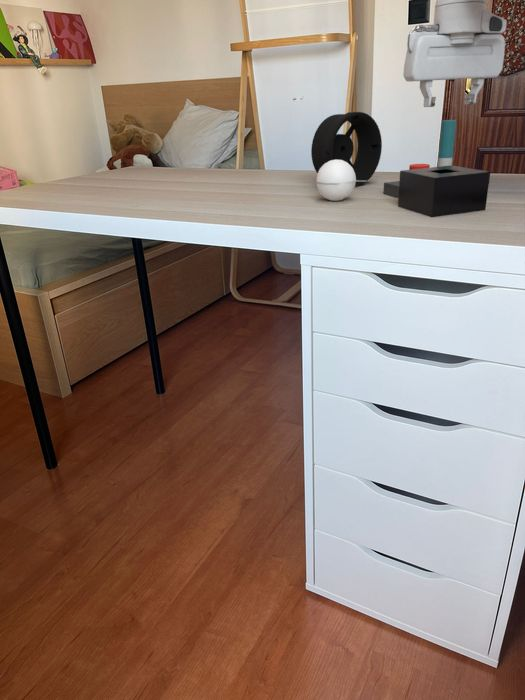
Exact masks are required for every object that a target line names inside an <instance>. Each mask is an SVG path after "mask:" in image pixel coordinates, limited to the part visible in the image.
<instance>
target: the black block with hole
mask: <svg viewBox="0 0 525 700" xmlns="http://www.w3.org/2000/svg"><path fill="white" fill-rule="evenodd" d="M490 178H491V171H487V170H483V169H477V168H476V169H475V168H469V167H464V166H457V165H453V164H452V165H450V166H441V167H438V166H433V167H429V168H422V169H412V170H409V169H404V170H400V171H399V181H400V182H399V198H397V199H398V200H397V207H398V208H401V209H404V210H407V211H411V212H413V213H416V214H419V215H422V216H426V217H429V218H437V217H444V216H452V215H459V214H468V213H475V212H483V211H486V208H487V200H488V193H489V187H490Z"/></svg>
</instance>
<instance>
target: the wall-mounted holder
mask: <svg viewBox="0 0 525 700" xmlns="http://www.w3.org/2000/svg"><path fill="white" fill-rule="evenodd" d="M345 123H350V126H349V128H348V129H347V131H346V132H345V133H338V132H339V130H340V129H341V127H342V126H343V125H344V124H345ZM354 131H355V135H356V140H357V141H356V142H357V150H356V151H357V152H356V156H355V159H354V162H353V163H352V161H351V159H352V158H353V157H352V156H353V154H354V147H355V146H354V142H353V139H352V137H351V136H352V135H353V132H354ZM381 134H382V133H381V131H380V128H379V125H378V123H377V121H376V120H375V119H374V118H373V116H371V115H370V114H368V113H366V112H363V111H350V112H347V113H338V114H337V113H336V114H332V115H330V116H328V117H326V118H325V119H324V120H322V121H321V123H320V124H319V125H318V127H317V129H316V130H315V132H314V134H313V135H314V136H313V138H312V142H311V150H310V151H311V153H310V154H311V161H312V166H313V168H314V170H315V172H316V173H317V174H318V172H319V169H320V168H321V167H322V166H323V165H324V164H325V163H327V162H329V161H330V160H343V161H345V162H347V163H348V164H349V165H350V166H351V167H352V168H353V170H354V172H355V175H356V183H355V187H354V188H358V187H360V186H362V185H364V184H365V183H367V182H368V181H369V180H370V179H371V178H372V177H373V175H374V174H375V172H376V170H377V168H378V166H379V164H380V161H381V156H382V150H383V148H382V147H383V141H382V135H381ZM317 174H316V175H317Z"/></svg>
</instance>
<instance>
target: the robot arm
mask: <svg viewBox="0 0 525 700" xmlns="http://www.w3.org/2000/svg"><path fill="white" fill-rule="evenodd" d="M486 2H487V0H436V1H435V4H434V13H433V24H426V25H424V24H418V25H416V26H415V27H413V28H412V29H411V30H410V31H409V33H408V35H407V45H406V48H407V50H406V53H405V59H404V65H403V78H404V80H405V81H406V82H408V83H409V82H410V83H411V82H419V90H420V92H421V95H422V97H423V107H424V108H434V107H435V106H436V100H437V99H436V98H437V96H433V94H432V92H431V88H432V87H433V81H446V80H447V81H449V80H468V79H469V80H470V86H471V88H470V90H469V92H468V94H464V101H463V103H464V105H465V106H466V105H467V106H468V105H475V104H477V97H478V94H479V92H480V91H481V89H482V88H483V86H484V83H485V82H484V81H485V79H489V78H490V79H491V78H492V79H493V78H497V77H499V75H500V74H501V72H502V71H503V67H504V61H505V52H506V51H505V49H506V41H505V37H504V36H503V35H502V34H503V33H505V32H506V29H507V25H508V22H507V20H506V19H505V18H503V17H501V16H498V15H497V14H494V13H493V12H491V11H489V10H487V9H486V4H487V3H486Z"/></svg>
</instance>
